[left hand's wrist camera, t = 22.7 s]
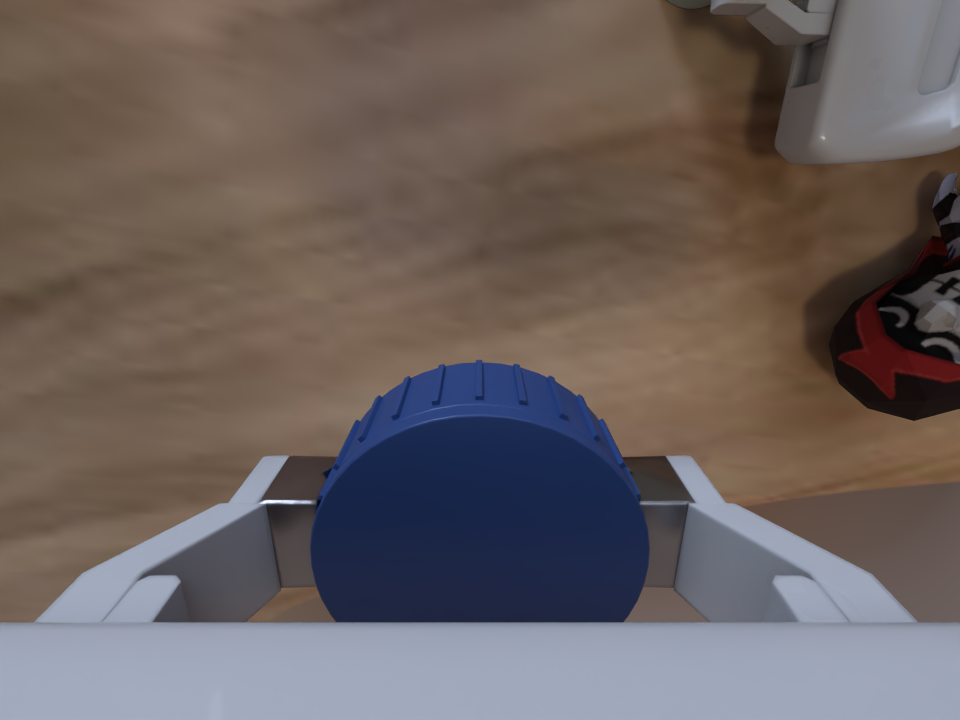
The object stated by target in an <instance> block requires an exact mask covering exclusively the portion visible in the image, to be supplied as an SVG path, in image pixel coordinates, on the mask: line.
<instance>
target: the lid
mask: <svg viewBox="0 0 960 720" xmlns="http://www.w3.org/2000/svg"><path fill="white" fill-rule="evenodd" d="M638 499H641V495H640V492H639V490H638V488H637V486H636V484H635V482H634V480H633V478H632V476H631V474H630V472H629V470H628V468H627V466H626V464H625V462H624V460H623V458H622V456H621V453H620V451H619V449H618V447H617V446H616V444H615V442H614V440H613V438H612V436H611V433H610V431H609V429H608V427H607V425H606V423H605V422H604V420H603V419H601V420H598V419H597V417H596V416H595V414H594V413H593V412H592V411H591V410H590V409H589V408H588V407H587V405H586V403H585V400H584V398H583V397H582V396H581V395H580V394H579V395H578V396H576V395H574V394H573V393H572V392H571V391H569V390H568V389H566V388H565V387H563V386H562V385H560V384H559V383H557V382H555V379H554V377H552V376H549V377H548V378H547V377H545V376H543V375H541V374H538V373H535V372H532V371H529V370H526V369H523V368H520V365H518V364H514V365H513V366H510V365H504V364H497V363H482V360H476V363H462V364H456V365H450V366H445V365H444V364H442V365H439V366H438V368H437V369H434V370H431V371H427V372H424V373H422V374H419V375H417V376H415V377H413V378H410V376H408V377H406V378H404V381H403V383H401V384H400V385H398V386H397V387H395V388H393V389H392V390H390V391H389V392H388V393H387V394H385V395H384V396H383V397H381V396H380V395H379V396H378V397H377V398H376V399H375V401H374V403H373V405H372V407H371V409H370V410H369V411H368V412H367V413H366V414H365V415H364V417H363V418H362V420H361V421H358V420H356V421H355V423H354V425H353V427H352V429H351V431H350V433H349V435H348V437H347V439H346V441H345V443H344V445H343V447H342V449H341V451H340V453H339V455H338V457H337V459H336V461H335V463H334V465H333V468H332V470H331V472H330V474H329V476H328V478H327V480H326V482H325V484H324V486H323V488H322V490H321V492H320V494H319V497H318V500H321V503H320V505H319V507H318V509H317V512H316V515H315V519H314V523H313V526H312V532H311V541H310V555H311V567H312V571H313V576H314V580H315V584H316V586H317V589H318V591H319V594H320V596H321V599H322V601H323V602H324V604H325V606H326V608H327V609H328V611H329V613H330V614H331V616H332V617H333V618H334V620H335V621H336V622H624V621H625V619H626V618H627V617H628V616H629V614H630V612H631V611H632V609H633V607H634V605H635V604H636V602H637V601H638V598H639V596H640V593H641V591H642V588H643V586H644V583H645V579H646V575H647V571H648V566H649V553H650V544H649V533H648V527H647V523H646V520H645V516H644V512H643V510H642V508H641V505H640V503H639V501H638Z"/></svg>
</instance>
